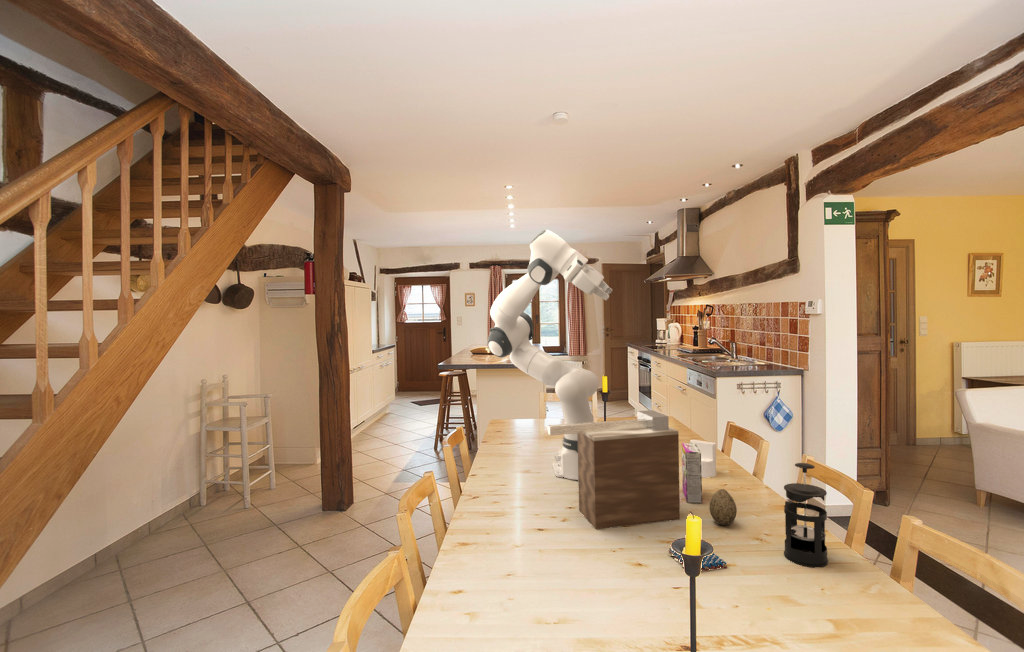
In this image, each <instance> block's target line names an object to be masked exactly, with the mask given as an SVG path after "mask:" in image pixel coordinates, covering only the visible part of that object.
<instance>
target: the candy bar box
mask: <svg viewBox="0 0 1024 652" xmlns="http://www.w3.org/2000/svg"><path fill="white" fill-rule="evenodd" d="M680 447H681V474H682V475H681V476H682V477H681V479H682V480H681V482H682V492H683V495H684V498H685V500H686V501H685V502H686V503H687V504H703V485H702V484H703V483H702V482H703V478H702V473H701V452H700V450H699V449H698V447H697V445H696V444H693V443H690V442H689V443H688V442H686V443H685V442H682V443H681V444H680Z"/></svg>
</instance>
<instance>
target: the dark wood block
mask: <svg viewBox="0 0 1024 652" xmlns="http://www.w3.org/2000/svg"><path fill="white" fill-rule="evenodd" d="M679 437H680V436H679V430H678V429H675V428H672V427H670V426H669V430H660V431H652V430H650V429H647V428H643V429H630V430H617V431H603V432H590V433H577V438H578V480H577V481H578V482H577V483H578V511H579V513H581V515H582V514H583V515H584V516H583V515H582V516H583V517H584V518H585V519H586V521H587V522H589V524H590V525H591V524H592V525H591V526H592V527H593V528H594V529H595V530H601V529H602V530H603V529H611V528H610V527H612V528H619V527H618V526H620V527H627V526H629V527H630V526H635V525H636V526H638V525H644V524H652V523H661V522H671V521H677V520H678V521H679V520H680V519H681V511H680V507H681V506H680V504H681V503H680V500H681V499H680V449H679V448H680V445H679V443H680V442H679ZM670 520H671V521H670Z"/></svg>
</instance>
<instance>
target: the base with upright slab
mask: <svg viewBox="0 0 1024 652" xmlns="http://www.w3.org/2000/svg"><path fill="white" fill-rule="evenodd" d="M689 443H693V444H696V445H697V447H698V449H699V450H700V452H701V473H702V477H703V478H702V479H708V478H707V477H712V478H715V477H717V445H716V442H710V441H705V440H699V439H690V441H689ZM714 476H715V477H714Z"/></svg>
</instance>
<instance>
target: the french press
mask: <svg viewBox="0 0 1024 652" xmlns="http://www.w3.org/2000/svg"><path fill="white" fill-rule="evenodd" d="M794 467H796V468H800V469H802V473H803V483H799V482H798V483H797V482H796V483H787V484H785V485H784V486H783V489H784V491H785V496H786V498H787V499H789V500H786V501H785V503H784V504H785V505H784V506H783V513H784V515H785V516H784V517H785V519H784V520H785V521H784V522H785V525H784V527H785V539H784V550H783V556H784V558H785V559H786V560H788V561H789V560H790V561H789V562H791V561H792V562H791V563H793V562H794V563H793V564H795V563H796V565H798V564H799V566H801V565H802V566H801V567H806V566H807V568H815V567H820V568H824V567H827V566H828V565H829V559H828V547H827V545H826V537H827V535H826V521H827V519H828V513H827V510H826V509H825V508H822V507H820V506H819V505H818V506H817V505H814V504H812V503H807V501H808V500H811V499H813V498H821V499H822V501H823V502H825V500H826V499H825V496H827V494H828V493H827V491H826V490H825V489H824V488H822V487H819V486H817V485H814V484H813V485H812V484H807V482H806V477H807V475H806V474H807V473H808V470H809V469H811V470H812V469H815V468H816V467H815V465H813V464H810V463H807V462H797V463H795V464H794ZM798 509H803V511H804V515H803V514H798ZM807 510H811V511H815V512H817V513H818V515H817V516H815V515H814V516H812V515H807ZM798 521H801V522H804V525H803V524H798ZM807 522H808V523H813V526H810V525H809V526H808V525H807ZM815 569H816V568H815Z"/></svg>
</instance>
